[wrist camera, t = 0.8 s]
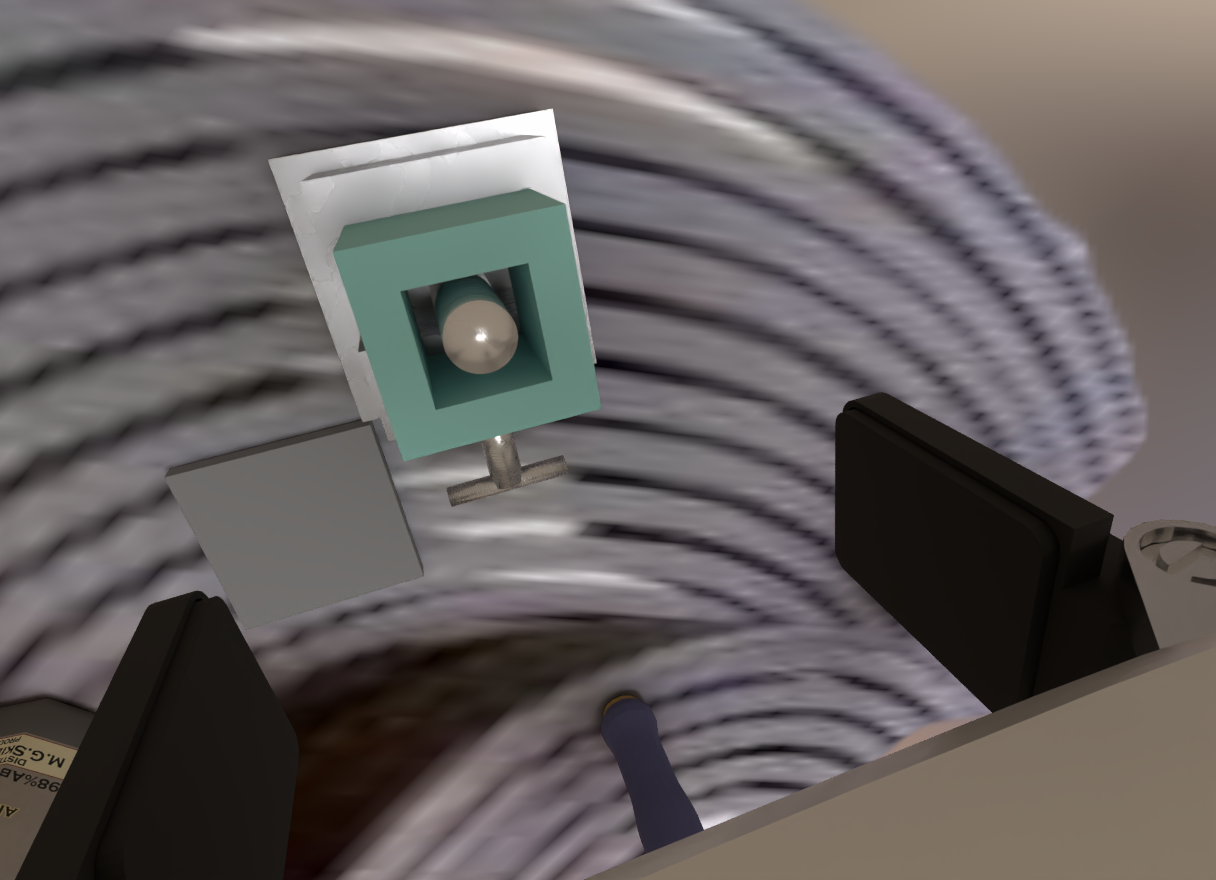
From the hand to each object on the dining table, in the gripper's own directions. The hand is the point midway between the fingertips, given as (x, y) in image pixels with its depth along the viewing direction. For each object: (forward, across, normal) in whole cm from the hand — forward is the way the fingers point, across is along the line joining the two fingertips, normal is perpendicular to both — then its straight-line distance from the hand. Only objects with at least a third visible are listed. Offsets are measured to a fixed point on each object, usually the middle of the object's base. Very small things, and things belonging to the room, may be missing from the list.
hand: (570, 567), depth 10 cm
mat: (+27, +11, +12) cm, 32 cm away
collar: (+19, 0, 0) cm, 19 cm away
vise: (+27, 0, +3) cm, 27 cm away
